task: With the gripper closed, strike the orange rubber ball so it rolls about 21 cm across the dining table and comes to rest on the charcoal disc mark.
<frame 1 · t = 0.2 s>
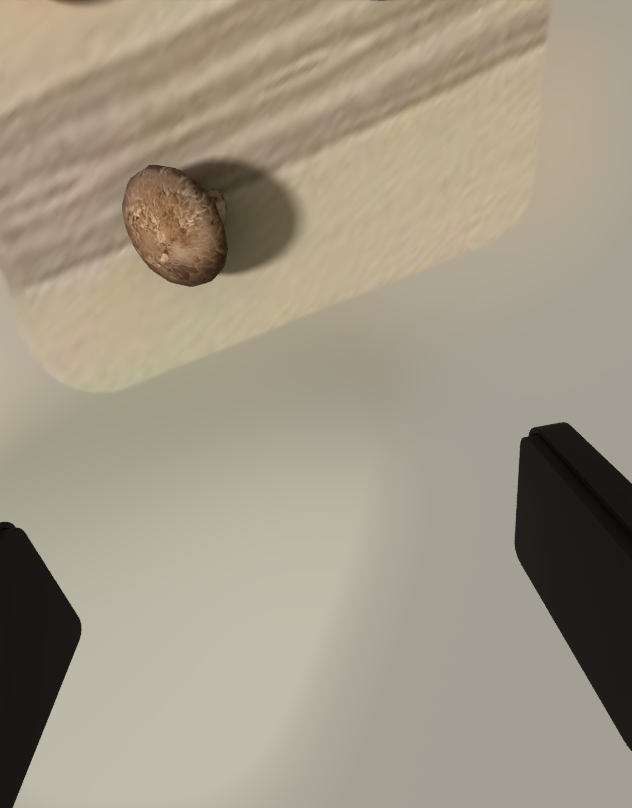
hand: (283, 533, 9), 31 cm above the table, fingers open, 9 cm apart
mushroom: (184, 222, 35), on the table
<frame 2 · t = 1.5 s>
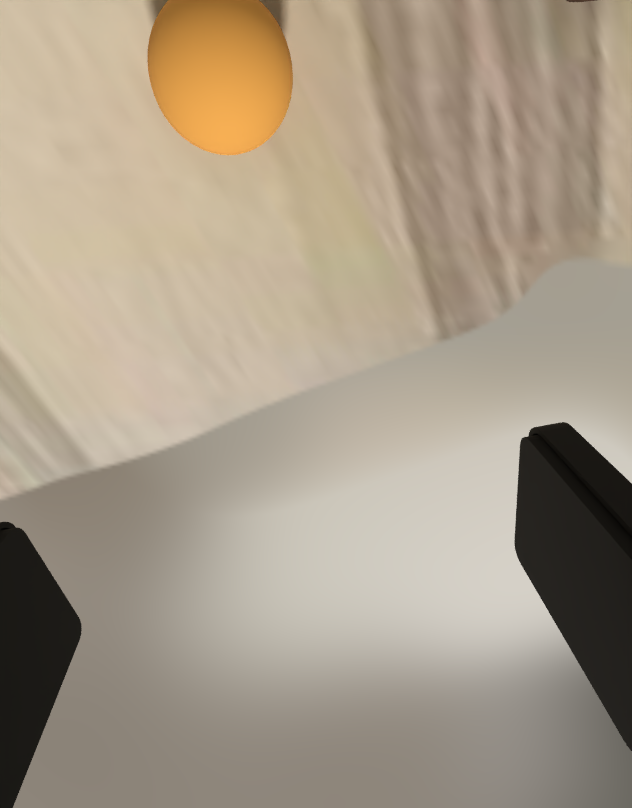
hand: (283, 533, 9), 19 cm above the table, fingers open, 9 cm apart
ball: (222, 75, 18), on the table
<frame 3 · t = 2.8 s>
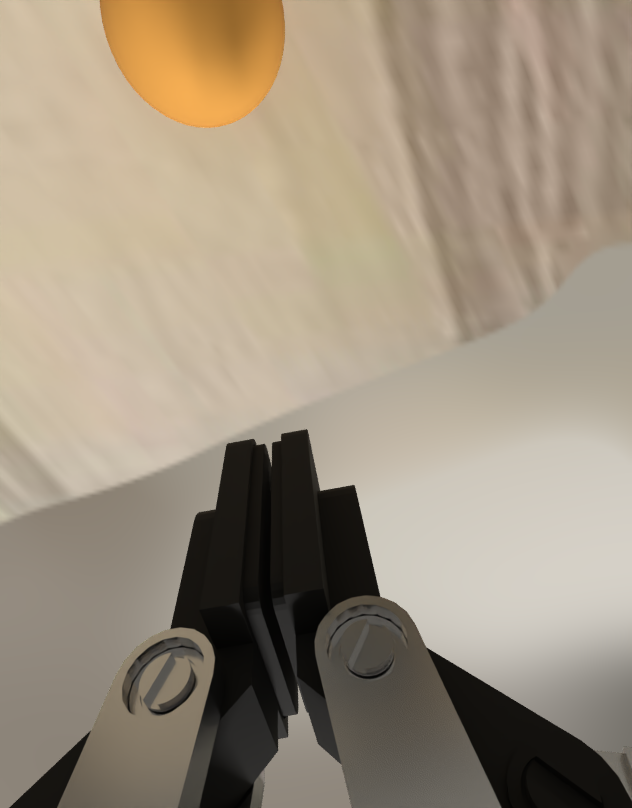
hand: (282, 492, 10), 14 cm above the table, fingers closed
ball: (196, 25, 15), on the table
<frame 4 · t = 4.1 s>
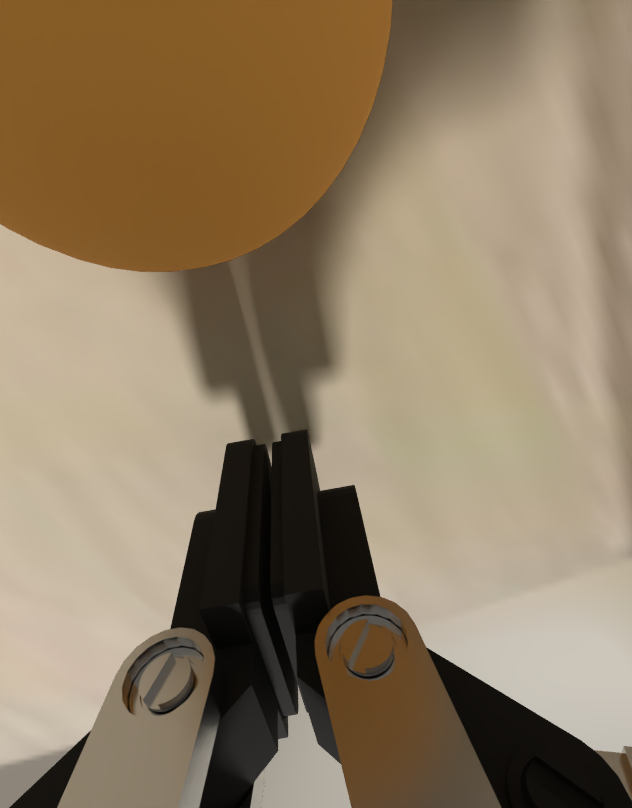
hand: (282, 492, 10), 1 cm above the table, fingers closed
ball: (135, 6, 5), on the table
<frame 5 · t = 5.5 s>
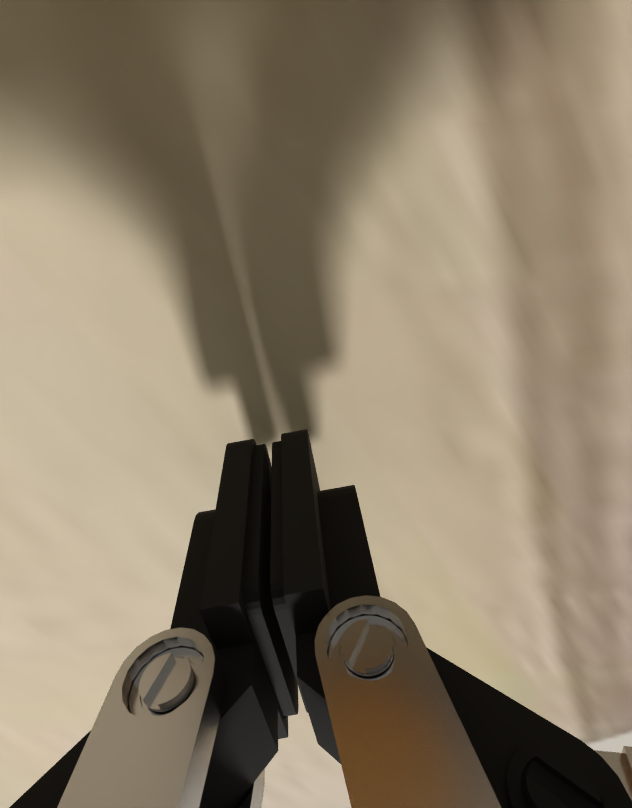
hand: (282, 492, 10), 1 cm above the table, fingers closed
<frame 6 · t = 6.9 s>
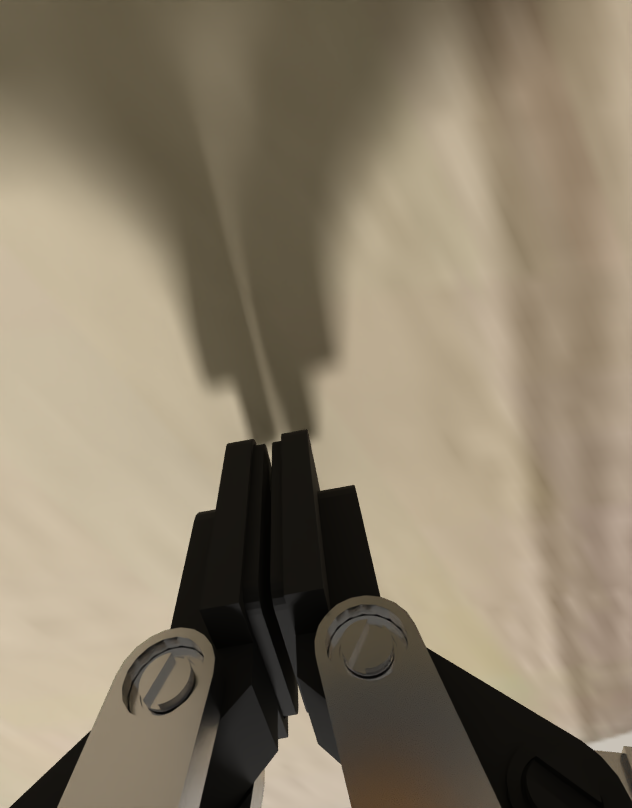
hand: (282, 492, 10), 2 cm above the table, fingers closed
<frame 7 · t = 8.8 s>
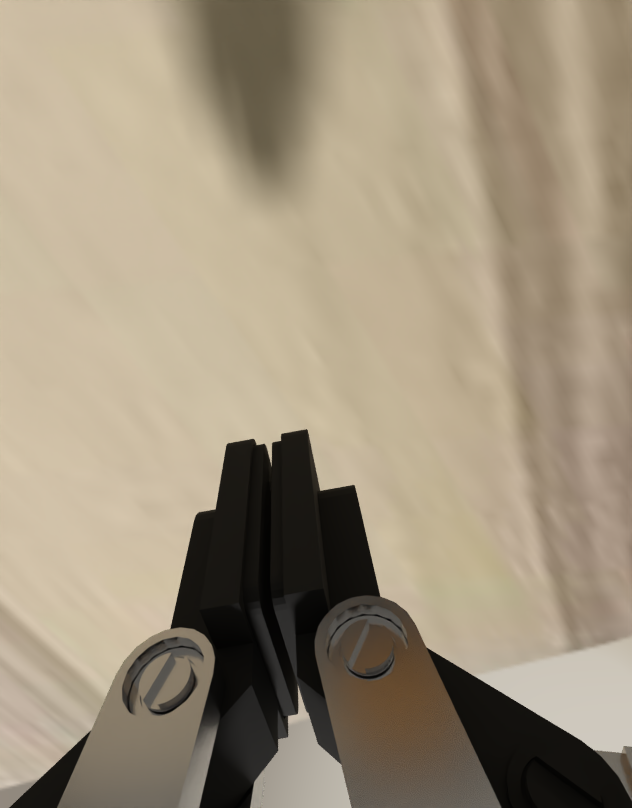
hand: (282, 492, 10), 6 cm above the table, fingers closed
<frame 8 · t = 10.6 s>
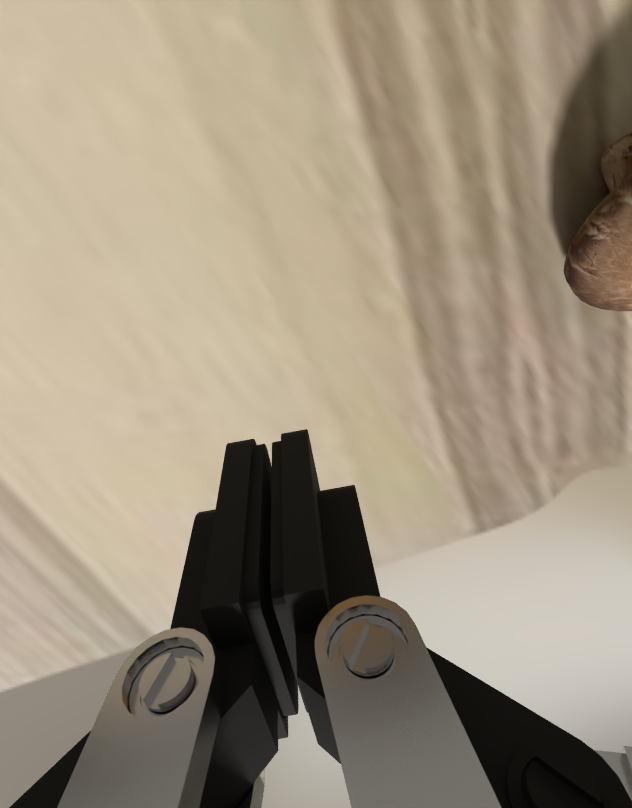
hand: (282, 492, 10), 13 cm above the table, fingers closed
mushroom: (621, 217, 21), on the table
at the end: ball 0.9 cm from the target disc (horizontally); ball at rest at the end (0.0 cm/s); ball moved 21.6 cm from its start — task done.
